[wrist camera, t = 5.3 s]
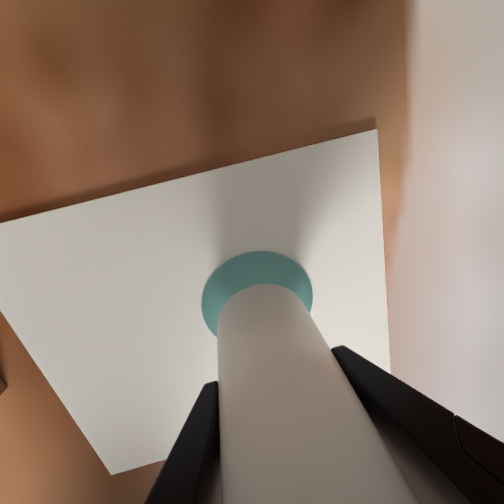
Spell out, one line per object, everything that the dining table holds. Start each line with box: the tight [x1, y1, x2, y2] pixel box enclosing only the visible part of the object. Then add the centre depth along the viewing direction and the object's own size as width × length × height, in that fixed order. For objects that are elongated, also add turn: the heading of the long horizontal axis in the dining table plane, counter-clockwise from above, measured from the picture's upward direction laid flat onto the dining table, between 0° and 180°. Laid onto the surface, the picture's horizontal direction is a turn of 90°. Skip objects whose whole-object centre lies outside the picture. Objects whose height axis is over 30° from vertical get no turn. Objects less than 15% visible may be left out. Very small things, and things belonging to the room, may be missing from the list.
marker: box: [217, 284, 420, 504], centre depth 7 cm, size 4×4×9 cm
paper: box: [0, 129, 391, 475], centre depth 13 cm, size 14×16×1 cm
